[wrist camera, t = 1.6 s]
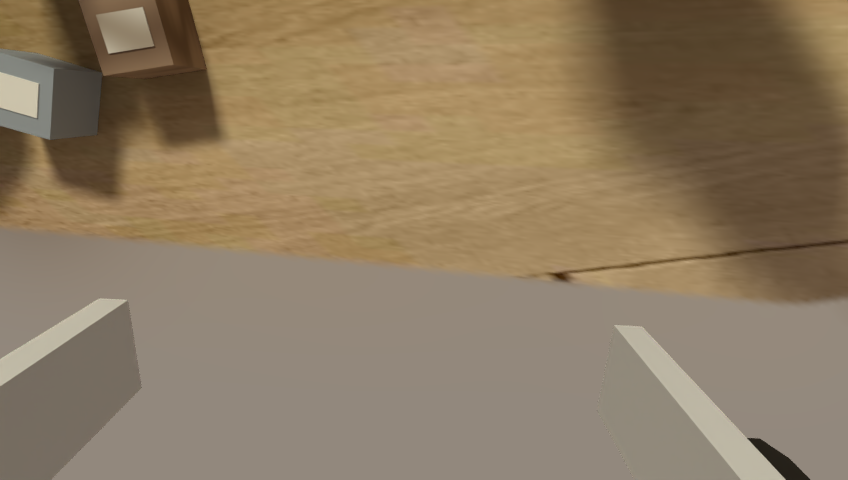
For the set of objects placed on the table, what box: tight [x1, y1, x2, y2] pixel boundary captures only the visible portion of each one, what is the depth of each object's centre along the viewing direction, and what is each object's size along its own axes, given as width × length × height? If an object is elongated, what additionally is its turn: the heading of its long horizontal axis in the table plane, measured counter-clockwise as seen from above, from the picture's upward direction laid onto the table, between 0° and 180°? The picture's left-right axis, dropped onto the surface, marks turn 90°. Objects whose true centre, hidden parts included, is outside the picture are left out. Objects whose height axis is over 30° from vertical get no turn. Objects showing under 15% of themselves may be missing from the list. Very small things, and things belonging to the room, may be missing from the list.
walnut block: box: [78, 0, 206, 79], centre depth 33 cm, size 5×5×5 cm
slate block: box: [0, 49, 102, 140], centre depth 34 cm, size 5×5×5 cm
